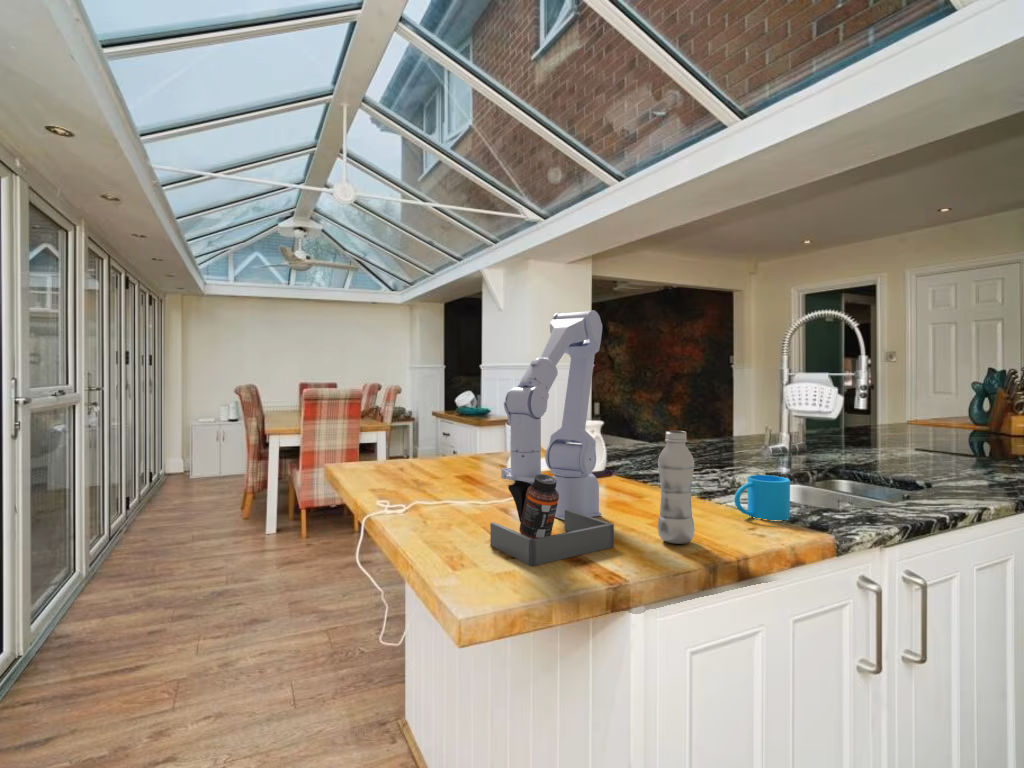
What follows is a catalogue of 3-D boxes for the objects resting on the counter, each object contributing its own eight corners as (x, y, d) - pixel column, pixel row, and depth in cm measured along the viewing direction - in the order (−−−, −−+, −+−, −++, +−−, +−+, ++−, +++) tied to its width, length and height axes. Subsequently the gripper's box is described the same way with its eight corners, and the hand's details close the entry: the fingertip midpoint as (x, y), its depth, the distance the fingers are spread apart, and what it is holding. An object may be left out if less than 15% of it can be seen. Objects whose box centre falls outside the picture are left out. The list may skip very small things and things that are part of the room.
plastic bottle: (694, 538, 100) (695, 430, 100) (694, 549, 94) (694, 434, 94) (658, 535, 103) (658, 429, 102) (655, 546, 96) (656, 433, 96)
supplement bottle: (547, 546, 97) (559, 489, 94) (515, 538, 98) (526, 481, 95) (552, 530, 103) (564, 476, 100) (522, 522, 104) (532, 468, 101)
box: (567, 529, 106) (567, 509, 106) (613, 546, 96) (613, 524, 96) (490, 545, 97) (490, 522, 97) (531, 566, 86) (531, 541, 86)
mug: (772, 511, 121) (772, 474, 121) (798, 520, 113) (799, 481, 113) (723, 513, 119) (723, 476, 118) (746, 523, 111) (746, 483, 110)
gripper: (488, 447, 107) (488, 516, 107) (530, 457, 94) (530, 534, 95) (518, 445, 111) (518, 511, 111) (562, 453, 98) (562, 528, 99)
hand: (525, 522), depth 103 cm, fingers closed
